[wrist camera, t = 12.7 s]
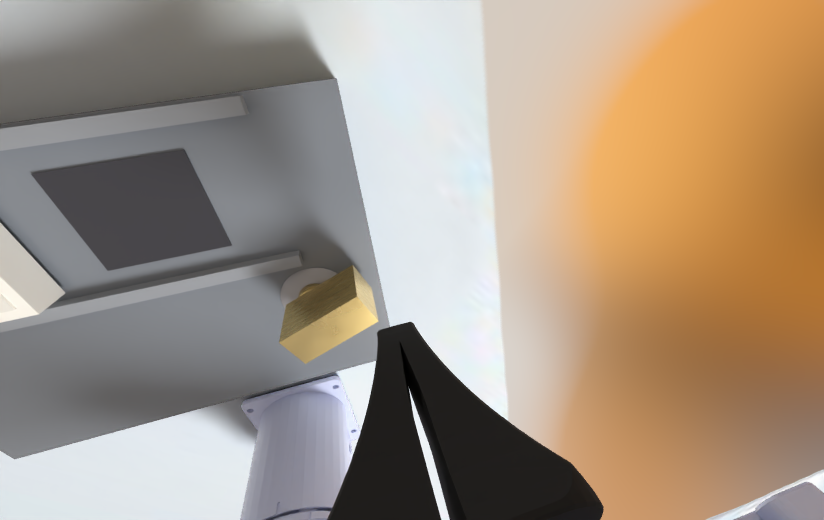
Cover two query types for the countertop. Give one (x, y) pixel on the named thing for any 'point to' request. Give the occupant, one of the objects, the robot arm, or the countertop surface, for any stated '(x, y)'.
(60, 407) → the grey slotted tray
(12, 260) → the cover
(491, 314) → the countertop surface
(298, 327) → the gold metal block
